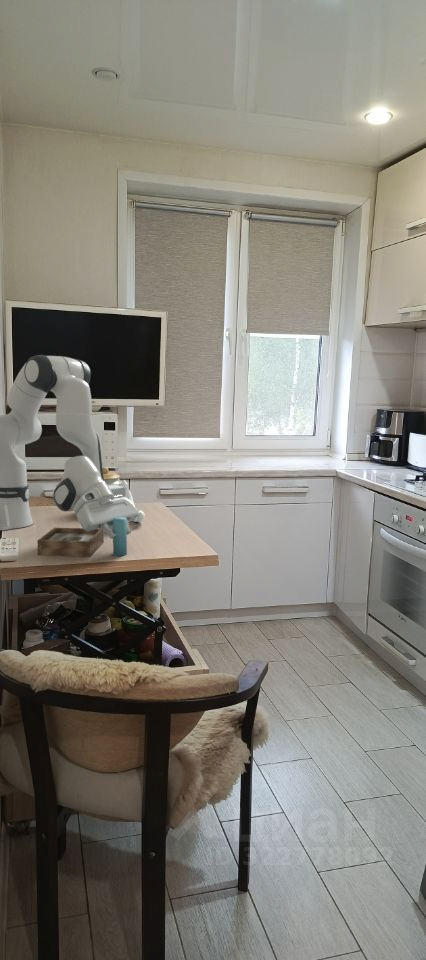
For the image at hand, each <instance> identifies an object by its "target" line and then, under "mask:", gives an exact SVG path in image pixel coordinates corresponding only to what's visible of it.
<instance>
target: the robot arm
mask: <svg viewBox="0 0 426 960" xmlns="http://www.w3.org/2000/svg"><path fill="white" fill-rule="evenodd" d="M91 374H92V372H91V368H90V367H89V365H88V364H87V363H86V362H85V361H83V360H81V359H78V358H72V357H68V356H61V355H58V356H57V355H44V354H39V355H33V356H31V357H29V358H28V359H27V361H26V362H25V363H24V365H23V366H22V368H21V369H20V370H19V372H18V373H17V375H16V377H15V380H14V381H13V384H12V385H11V387H10V390H9V392H8V394H7V396H6V401H7V404H8V406H9V408H10V409H11V410H10V412H9V413H7V414H0V531H7V530H11V529H12V530H13V529H20V528H25V527H29V526H31V525H33V524H34V521H33V518H32V517H33V516H32V515H31V510H30V503H29V500H30V490H29V484H28V475H27V463H26V461H25V460H24V459H22V458H20V457H19V456H18V455H17V454H16V452H15V447H16V446H23V445H24V446H25V445H28V444H31V443H33V442H36V441H38V440H39V439H40V437H41V435H42V432H43V428H42V427H43V426H42V423H41V421H40V419H38V413H39V411H40V408H41V406H42V404H43V402H44V400H45V398H46V396H47V394H48V393H49V392H52V393H53V394H54V396H55V398H56V399H55V400H56V405H55V406H56V407H55V408H56V409H55V427H56V431H57V433H58V434H59V436H60V437H61V438H63V440H65V441H66V442H68V443H71V444H73V445H74V446H76V447H77V448H78V449H79V450H80V451H81V454H82V455H76V456H72V457H70V458H68V459H67V460H66V461H65V463H64V465H63V467H64V469H63V470H64V471H63V475H62V477H61V480H60V482H59V483H58V484H57V485H56V487H55V488H54V490H53V495H52V496H53V500H54V503H55V505H56V506H57V508H58V509H59V510H60V511H62V512H74V513H75V514H76V518H77V521H78V522H79V524H80V526H81V528H83V529H84V530H86V531H91V530H95V529H101V530H102V531H103V532H104V534H106V535H108V536H107V537H109V539H110V540H113V538H115V537H116V536H117V534H116V533H115V531H114V530H111V529H110V528H109V527H108V526H112V525H113V518H115V517H125V518H126V525H127V536H128V535H130V534H131V533H132V531H131V529H130V525H129V524H130V522H134V521H133V520H135V518H136V517H137V516H138V511H139V510H138V509H137V507H136V506H134V505H135V504H134V505H133V504H132V503H131V501H130V500H129V499H128V498H127V497H124V496H122V495H118V496H114V495H113V493H112V492H111V490H110V488H109V487H108V485H107V483H106V482H105V481H104V478H103V462H102V450H101V442H100V439H99V436H98V433H97V432H96V431H95V429H94V425H93V415H92V414H93V404H92V394H91V388H90V382H91V377H92V376H91ZM14 446H15V447H14Z"/></svg>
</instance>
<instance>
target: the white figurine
mask: <svg viewBox="0 0 426 960" xmlns="http://www.w3.org/2000/svg"><path fill="white" fill-rule="evenodd" d="M122 483H123V487H126V488H125V490H126V497H127V498H128V499H129V500H130V501H131V503H132V504H133V505H134V506H135V502H134V498H133V495H132V492H131V491H130V489H129V484H128V482H127V481H126V480H125V479H123V480H122ZM135 507H136V506H135ZM145 517H146V515H145V512H144V511H143V510H138V516H137V517H136V518H135V520H133V521H132V522H134V523H141V522H142V521H144V519H145Z"/></svg>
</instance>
